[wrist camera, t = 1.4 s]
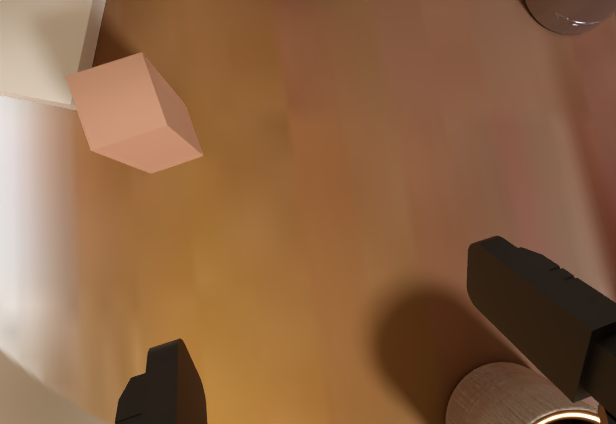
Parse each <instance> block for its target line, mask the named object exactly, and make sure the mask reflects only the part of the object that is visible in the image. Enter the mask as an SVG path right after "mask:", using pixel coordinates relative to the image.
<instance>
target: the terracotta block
mask: <svg viewBox="0 0 616 424" xmlns="http://www.w3.org/2000/svg"><path fill="white" fill-rule="evenodd" d="M65 77H66V80H67V83H68V86H69V89H70V92H71V95H72V97H73V100H74V103H75V106H76V109H77V112H78V115H79V117H80V120H81V123H82V126H83V129H84V132H85V135H86V138H87V140H88V143H89V146H90V149H91V151H93V152H96V153H99V154H101V155H104V156H106V157H109V158H112V159H114V160H117V161H120V162H122V163H125V164H127V165H130V166H133V167H135V168H138V169H140V170H143V171H146V172H148V173H151V174H152V173H155V172H158V171H160V170H163V169H166V168H169V167H172V166H175V165H178V164H181V163H184V162H187V161H190V160H193V159H196V158H199V157H202V156H203V153H202V150H201V147H200V144H199V141H198V139H197V136H196V133H195V130H194V127H193V124H192V122H191V119H190V116H189V113H188V110H187V107H186V105H185V104H184V102H183V101H182V100H181V99H180V98H179V96H178V95H177V94H176V93H175V92H174V90H173V89H172V88H171V87H170V86H169V84H168V83H167V82H166V81H165V80H164V78H163V77H162V76H161V75H160V74H159V72H158V71H157V70H156V69H155V68H154V66H153V65H152V64H151V63H150V62H149V60H148V59H147V58H146V57H145V56H144V54H143V53H142V52H141V53H137V54H134V55H131V56H128V57H125V58H122V59H118V60H115V61H112V62H109V63H106V64H103V65H99V66H96V67H93V68H90V69H87V70H84V71H81V72H77V73H74V74H71V75H68V76H65Z"/></svg>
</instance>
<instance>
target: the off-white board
mask: <svg viewBox="0 0 616 424" xmlns="http://www.w3.org/2000/svg"><path fill="white" fill-rule="evenodd" d="M105 3H106V0H0V96H5V97H10V98H15V99H21V100H26V101H31V102H36V103H41V104H46V105H52V106H57V107H62V108H67V109H72V110H77V109H76V106H75V103H74V100H73V97H72V95H71V92H70V89H69V86H68V83H67V80H66V77H65V76H68V75H71V74H74V73H77V72H81V71H84V70H87V69H90V68H92V64H93V60H94V55H95V50H96V46H97V41H98V36H99V31H100V27H101V22H102V17H103V13H104V8H105Z"/></svg>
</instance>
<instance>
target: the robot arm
mask: <svg viewBox="0 0 616 424" xmlns="http://www.w3.org/2000/svg"><path fill="white" fill-rule="evenodd" d="M525 2H526V5H527V7H528V9H529V11H530V12H531V14H532V15H533V16H534V18H535V19H536V20H537V21H538V22H539V23H540V24H542V25H543V26H544V27H546V28H548V29H549V30H551V31H554V32H557V33H560V34H568V35H573V34H580V33H583V32H586V31H589V30H590V29H592V28H594V27H595V26H597V25H599V24H600V23H602V22H603V21H605V20H606V19H608V18H610V17H611V16H613V15H614V14H616V0H525ZM467 291H468V294H469V297H470V299H471V301H472V303H473V304H474V306H475V307H476V308H477V309H478V310H479V311H480V312H481V313H482V314H483V315H484V316H485V317H486V318H487V319H488V320H489V321H490V322H491V323H492V324H493V325H494V326H495V327H496V328H497V329H498V330H499V331H500V332H501V333H502V334H503V335H504V336H505V337H506V338H507V339H508V340H509V341H510V342H511V343H513V344H514V345H515V346H516V347H517V348H518V349H519V350H520V351H521V352H522V353H523V354H524V355H525V356H526V357H527V358H528V359H529V360H530V361H531V362H532V363H533V364H534V365H535V366H536V367H537V368H538V369H539V370H540V371H541V372H542V373H543V374H544V375H545V376H546V377H547V378H548V379H549V380H550V381H551V382H552V383H553V384H554V385H555V386H556V387H557V388H558V389H559V390H560V391H561V392H562V393H563V394H564V395H565V396H566V397H567V398H568V399H569V400H570V401H571V402H572V403H576V402H578V401H580V400H583V399H585V398H587V397H590V396H592V397H593V398H594V399H595V400H596V401H597V402H598V403H599V405H598V416H599V420H600V424H616V303H615V302H613V301H612V300H610V299H609V298H607V297H606V296H604V295H603V294H601V293H600V292H598V291H597V290H595V289H594V288H592V287H591V286H589V285H588V284H586V283H584V282H583V281H581V280H580V279H578V278H574V275H572V274H571V273H569V272H568V271H566V270H565V269H563V268H562V269H560V267H559V265H557V264H556V263H554V262H553V261H551V260H549V259H548V258H546V257H545V256H543V255H542V254H539V253H536V252H533V251H530V250H528V249H525V248H522V247H520V248H517V247H515V246H514V245H512V244H511V243H510V242H508V241H507V240H505V239H504V238H502V237H500V236H494V237H491V238H488V239H484V240H481V241H478V242H475V243H472V244H471V245H470V246H469V249H468V266H467ZM115 424H207V411H206V399H205V393H204V389H203V385H202V382H201V379H200V377H199V374H198V372H197V370H196V368H195V366H194V363H193V361H192V359H191V357H190V355H189V352H188V350H187V348H186V346H185V344H184V342H183V340H182V339H177V340H174V341H171V342H168V343H165V344H162V345H159V346H155V347H152V348H150V349H149V351H148V355H147V365H146V373H144V374H141V375H138V376H135V377H132V378H131V379H130V381H129V382H128V384H127V386H126V388H125V390H124V391H123V393H122V395H121V397H120V398H119V401H118V407H117V413H116V419H115Z"/></svg>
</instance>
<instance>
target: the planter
mask: <svg viewBox="0 0 616 424" xmlns="http://www.w3.org/2000/svg"><path fill="white" fill-rule="evenodd" d="M445 424H600V420H599V416H598V410H596V409H595V408H593V407H591V406H590V405H588V404H586V403H585V402H583V401H581V400H580V401H578V402H576V403H572V402H571V401H570V400H569V399H568V398H567V397H566V396H565V395H564V394H563V393H562V392H561V391H560V390H559V389H558V388H557V387H556V386H555V385H554V384H553V383H552V382H551V381H549V380H548V379H546V378H544V377H543V376H541V375H539V374H538V373H536V372H534V371H533V370H531V369H529V368H527V367H524V366H521V365H518V364H515V363H510V362H494V363H489V364H485V365H483V366H480V367H478V368H476V369H474V370H473V371H471V372H470V373H468V374H467V375H466V376H465V377H464V378H463V379H462V380H461V381H460V382H459V383H458V385H457V386H456V387H455V389H454V391H453V392H452V394H451V397H450V399H449V402H448V405H447V409H446V417H445Z"/></svg>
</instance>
